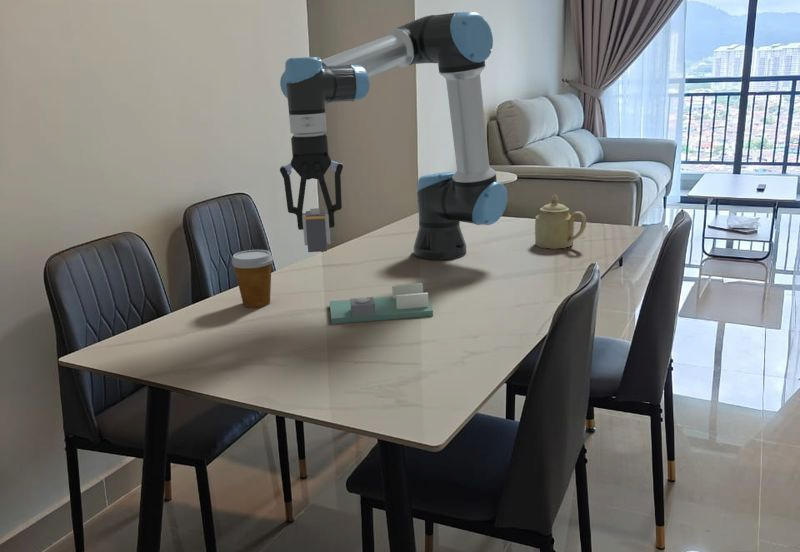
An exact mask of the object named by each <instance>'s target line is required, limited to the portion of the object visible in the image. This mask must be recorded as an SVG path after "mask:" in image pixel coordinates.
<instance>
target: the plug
mask: <svg viewBox="0 0 800 552" xmlns="http://www.w3.org/2000/svg"><path fill="white" fill-rule="evenodd" d="M325 212H326V211H325V210H320V208H319V207H317V208H309V211H308V210H306V211H305V213H306V215H305V219H306V229H307V243H308V245H307V252H308V253H317V252H328V244H327V236H326V223H325Z"/></svg>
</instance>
